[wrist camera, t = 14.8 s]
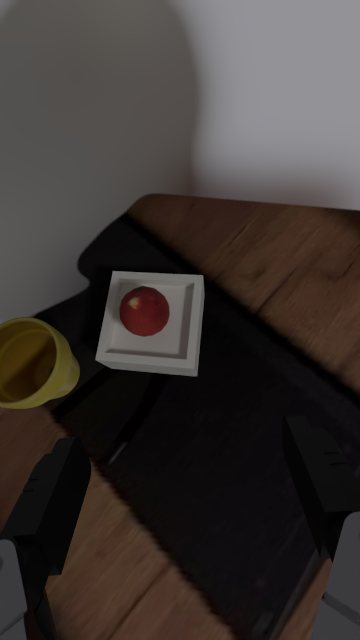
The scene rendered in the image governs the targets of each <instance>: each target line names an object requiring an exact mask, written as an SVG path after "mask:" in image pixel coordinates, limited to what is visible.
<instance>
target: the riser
mask: <svg viewBox="0 0 360 640" xmlns="http://www.w3.org/2000/svg"><path fill="white" fill-rule="evenodd" d="M141 286H146V287H151V288H155V289H156V290H158V291H159V292H160V293H162V294H163V295H164V296H165V298H166V300H167V302H168V304H169V311H170V316H169V319H168V322H167V324H166V326H165V327H164V328H163V329H162V331H160V332H158V333H157V334H155V335H153V336H146V337H143V336H138V335H134V334H132V333H131V332H129V331H128V330H127V329H126V328H125V327H124V325H123V324H122V322H121V320H120V315H119V308H120V304H121V300H122V299H123V297H124V296H125V295H126V294H127V293H128V292H130V291H131V290H133V289H134V288H138V287H141ZM203 304H204V283H203V275H183V274H163V273H142V272H122V271H113V274H112V279H111V284H110V289H109V294H108V299H107V304H106V309H105V314H104V319H103V324H102V329H101V334H100V339H99V344H98V349H97V354H96V359H95V360H97V361H98V362H100V363H102V364H104V365H106V366H108V367H110V368H112V369H123V370H133V371H144V372H155V373H165V374H176V375H187V376H197V371H198V360H199V349H200V338H201V327H202V316H203Z"/></svg>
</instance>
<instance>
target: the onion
mask: <svg viewBox="0 0 360 640" xmlns="http://www.w3.org/2000/svg"><path fill="white" fill-rule="evenodd" d="M119 315H120V320H121V322H122V324H123V325H124V327H125V328H126V329H127V330H128V331H129V332H131V333H132V334H134V335H138V336H143V337H146V336H153V335H155V334H157V333H158V332H160V331H162V329H163V328H164V327H165V326H166V324H167V322H168V319H169V316H170V311H169V304H168V302H167V300H166V298H165V296H164V295H163V294H162V293H160V292H159V291H158V290H156V289H155V288H151V287H146V286H141V287H138V288H134V289H133V290H131V291H130V292H128V293H127V294H126V295H125V296H124V297H123V299H122V300H121V304H120V308H119Z"/></svg>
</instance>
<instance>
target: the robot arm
mask: <svg viewBox="0 0 360 640" xmlns="http://www.w3.org/2000/svg"><path fill="white" fill-rule="evenodd" d="M283 452H284V456H285V460H286V463H287V466H288V469H289V471H290V474H291V477H292V480H293V483H294V486H295V488H296V491H297V494H298V497H299V500H300V503H301V505H302V508H303V511H304V514H305V517H306V519H307V522H308V525H309V528H310V531H311V534H312V536H313V539H314V542H315V545H316V548H317V551H318V553H319V556H320V559H324V558H331V561H332V563H333V564H332V568H331V572H330V575H329V579H328V583H327V586H326V590H325V593H324V595H323V596H322V599H321V602H320V605H319V608H318V612H317V616H316V619H315V623H314V626H313V630H312V634H311V637H310V640H360V484H359V482H358V480H357V478H356V477H355V475H354V473H353V471H352V470H351V468H350V466H349V465H348V464H347V461H346V459H345V457H344V455H343V454H342V453H341V450H340V448H339V447H338V445H337V443H336V441H335V440H334V438H333V437H332V436H331V435H330V434H329V433H327V432H326V431H325V430H324V429H323V428H322V427H319V428H311V427H310V425H309V423H308V421H307V419H306V417H305V415H304V414H299V415H290V416H283ZM90 477H91V463H90V460H89V458H88V455H87V453H86V451H85V448H84V446H83V443H82V441H81V439H80V438H79V437H71V438H61V439H59V440H58V441H57V442H56V444H55V446H54V448H53V450H52V452H51V454H45V455H44V457H43V458H42V459H41V460H40V461H39V462H38V463H37V464H36V465H35V467H34V469H33V471H32V473H31V475H30V477H29V479H28V482H27V483H26V485H25V487H24V489H23V493H21V495H20V497H19V499H18V500H17V502H16V504H15V506H14V508H13V510H12V512H11V514H10V516H9V518H8V520H7V522H6V524H5V526H4V528H3V530H2V532H1V534H0V640H59V639H58V636H57V632H56V628H55V624H54V620H53V616H52V613H51V609H50V605H49V601H48V597H47V593H46V590H45V585H46V582H47V579H48V576H53V575H61V573H62V569H63V566H64V563H65V560H66V556H67V553H68V550H69V547H70V543H71V540H72V537H73V533H74V530H75V527H76V524H77V520H78V517H79V514H80V510H81V507H82V504H83V501H84V497H85V494H86V491H87V487H88V484H89V481H90Z"/></svg>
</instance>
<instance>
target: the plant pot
mask: <svg viewBox="0 0 360 640" xmlns="http://www.w3.org/2000/svg"><path fill="white" fill-rule="evenodd" d="M79 374H80V368H79V364H78V361H77V359H76V358H75V357H74V355H73V354H72V353H71V349H70V346H69V344H68V342H67V340H66V339H65V337H64V336H63V335H62V334H61V333H60V332H59V331H57V330H56V329H55V328H53V327H52V326H50V325H49V324H47V323H46V322H44V321H42V320H39V319H36V318H30V317H21V318H16V319H12V320H9V321H6V322H4V323H2V324H1V325H0V407H4V408H14V409H26V408H32V407H36V406H39V405H41V404H43V403H45V402H47V401H48V400H50V399H54V398H59V397H62V396H64V395H66V394H68V393H69V392H70V391H71V390H72V389H73V388H74V387H75V385H76V384H77V381H78V379H79Z"/></svg>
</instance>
